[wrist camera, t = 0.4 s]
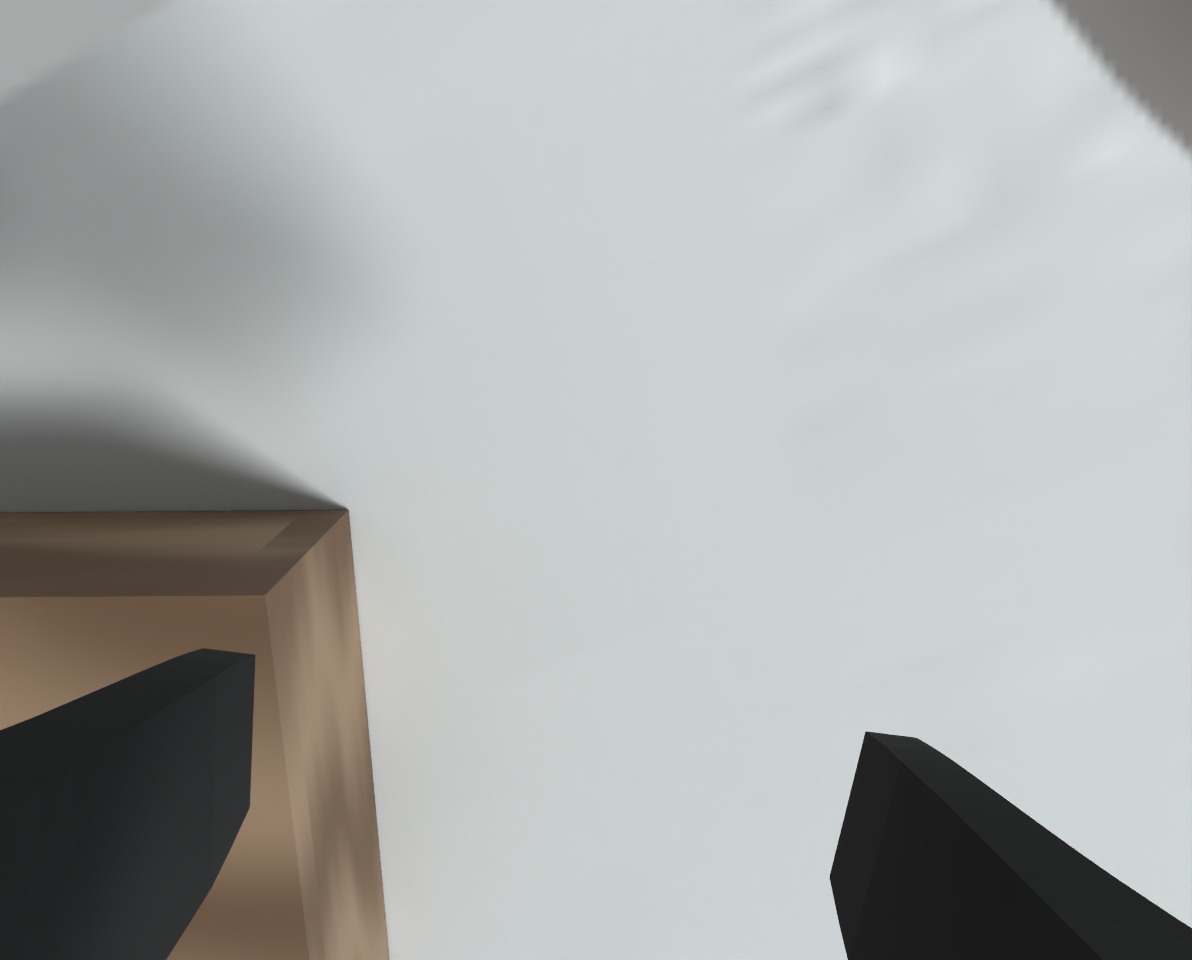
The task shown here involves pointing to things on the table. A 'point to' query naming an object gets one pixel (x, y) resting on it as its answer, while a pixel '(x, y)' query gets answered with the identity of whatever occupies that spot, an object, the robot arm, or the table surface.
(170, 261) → the table surface
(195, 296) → the table surface
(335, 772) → the low shelf
